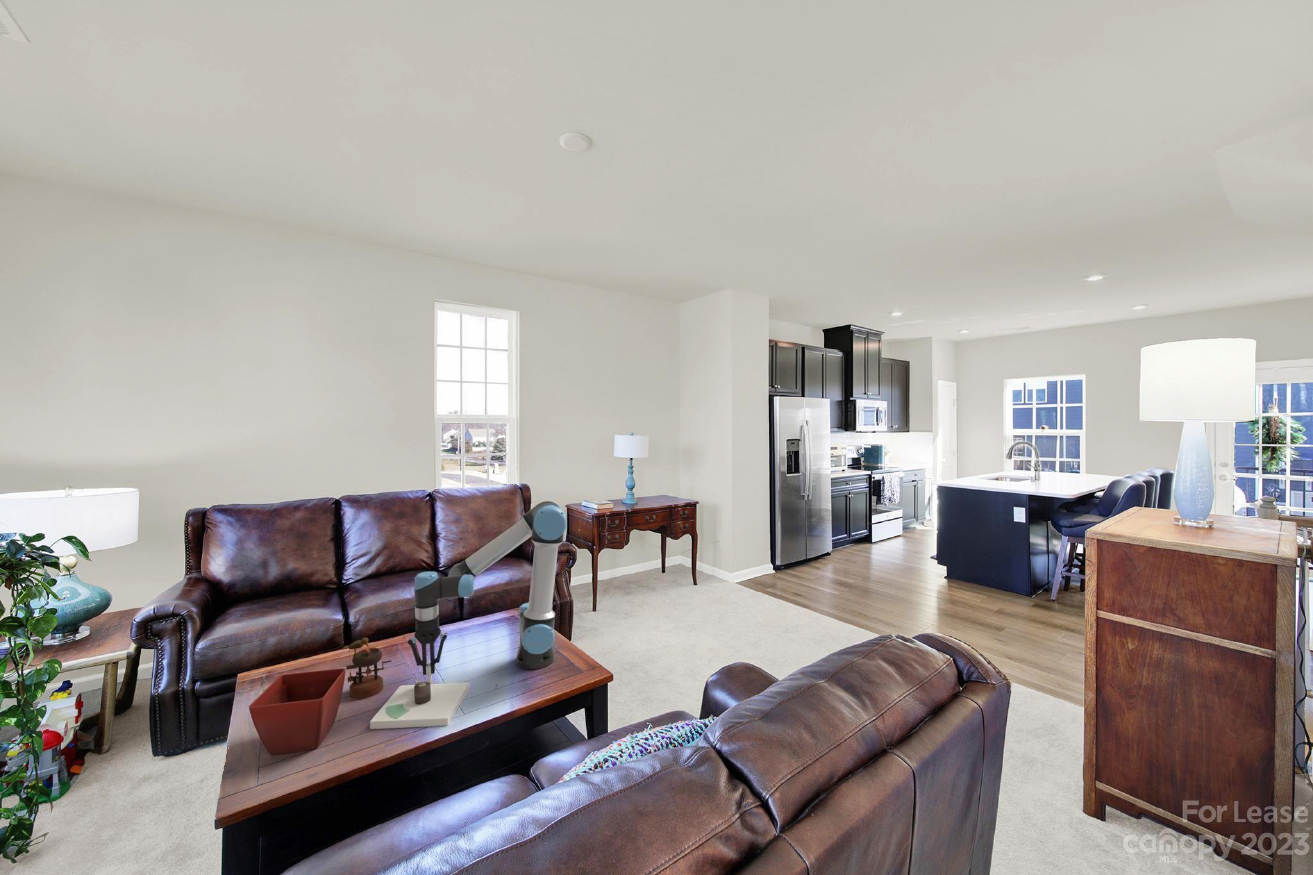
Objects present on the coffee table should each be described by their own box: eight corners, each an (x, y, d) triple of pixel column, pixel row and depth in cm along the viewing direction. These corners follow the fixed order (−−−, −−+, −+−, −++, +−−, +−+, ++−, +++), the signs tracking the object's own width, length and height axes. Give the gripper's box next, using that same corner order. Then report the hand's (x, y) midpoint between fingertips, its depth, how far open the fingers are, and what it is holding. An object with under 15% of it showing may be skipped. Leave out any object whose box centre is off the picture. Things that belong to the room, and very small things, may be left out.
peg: (432, 701, 174) (431, 685, 174) (415, 705, 171) (415, 689, 171) (425, 683, 185) (424, 669, 185) (409, 688, 182) (409, 673, 182)
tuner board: (469, 688, 186) (469, 681, 186) (447, 725, 164) (447, 717, 164) (400, 691, 185) (400, 684, 185) (370, 729, 163) (369, 720, 163)
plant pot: (324, 755, 151) (322, 698, 150) (249, 765, 147) (246, 707, 146) (349, 717, 170) (346, 667, 169) (283, 726, 166) (280, 674, 165)
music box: (346, 704, 177) (343, 645, 178) (343, 693, 186) (340, 637, 187) (395, 690, 186) (392, 634, 187) (390, 680, 195) (387, 626, 196)
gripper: (447, 610, 188) (449, 674, 189) (408, 615, 184) (410, 680, 185) (446, 618, 181) (448, 684, 182) (405, 623, 177) (407, 691, 178)
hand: (429, 682), depth 183 cm, fingers closed
